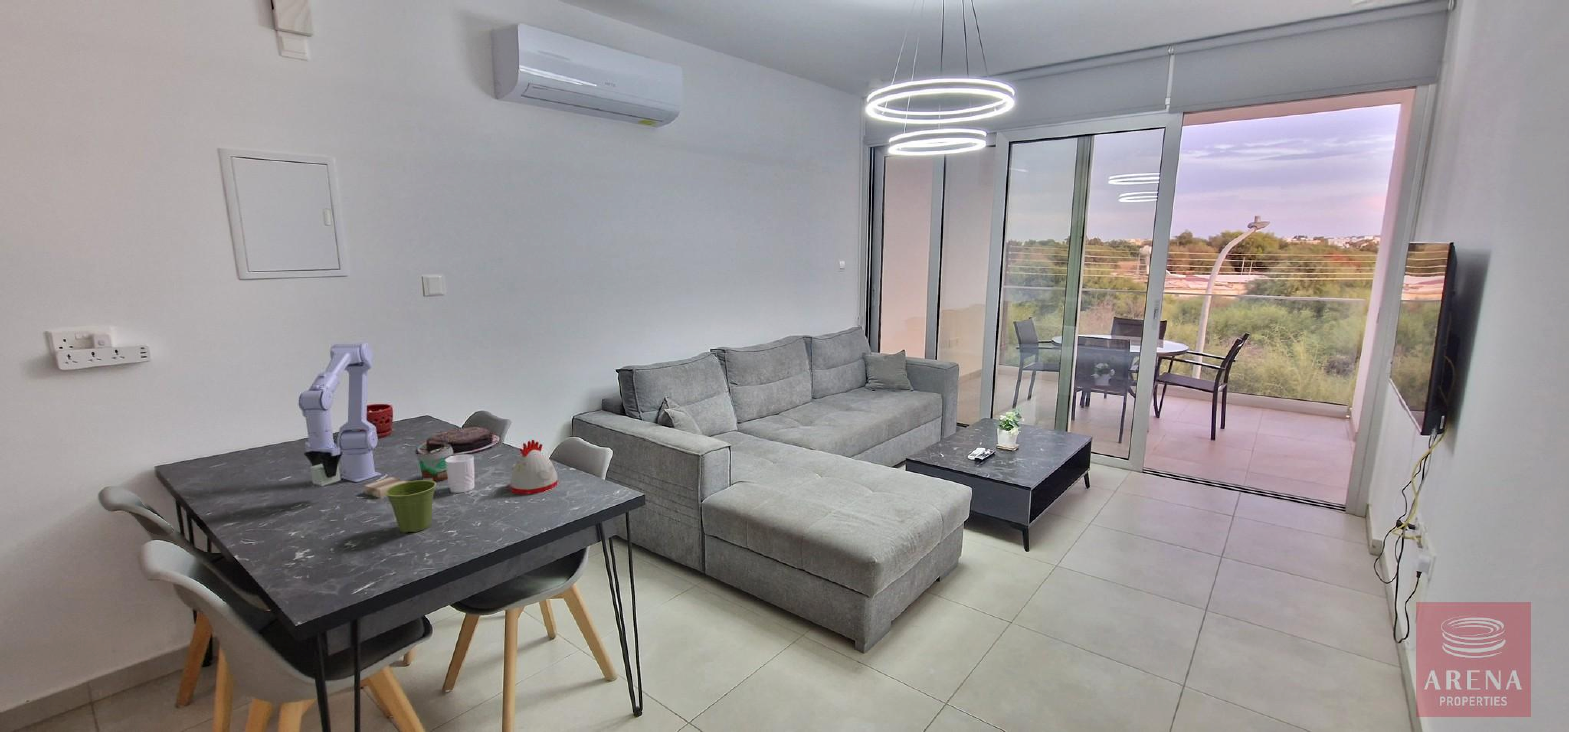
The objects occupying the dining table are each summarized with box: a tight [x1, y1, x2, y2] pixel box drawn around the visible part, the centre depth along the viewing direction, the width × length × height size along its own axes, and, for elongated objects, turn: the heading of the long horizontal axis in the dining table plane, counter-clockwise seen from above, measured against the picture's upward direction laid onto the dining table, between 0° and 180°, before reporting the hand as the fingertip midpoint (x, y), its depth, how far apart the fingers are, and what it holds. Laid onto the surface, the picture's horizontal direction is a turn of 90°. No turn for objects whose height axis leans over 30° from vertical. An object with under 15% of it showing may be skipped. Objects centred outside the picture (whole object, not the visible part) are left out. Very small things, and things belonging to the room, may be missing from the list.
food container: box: [417, 444, 453, 483], centre depth 202 cm, size 12×6×10 cm, turn 168°
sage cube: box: [310, 464, 342, 487], centre depth 184 cm, size 5×5×5 cm
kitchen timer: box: [509, 439, 559, 495], centre depth 195 cm, size 14×14×15 cm
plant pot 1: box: [358, 403, 394, 439], centre depth 250 cm, size 13×13×12 cm
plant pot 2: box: [385, 479, 438, 533], centre depth 166 cm, size 12×12×11 cm
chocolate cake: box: [417, 426, 500, 456], centre depth 237 cm, size 28×28×7 cm
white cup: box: [445, 454, 476, 494], centre depth 193 cm, size 8×8×10 cm
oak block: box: [364, 476, 408, 499], centre depth 192 cm, size 8×8×3 cm
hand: (326, 475), depth 184 cm, fingers closed on sage cube, 5 cm apart
